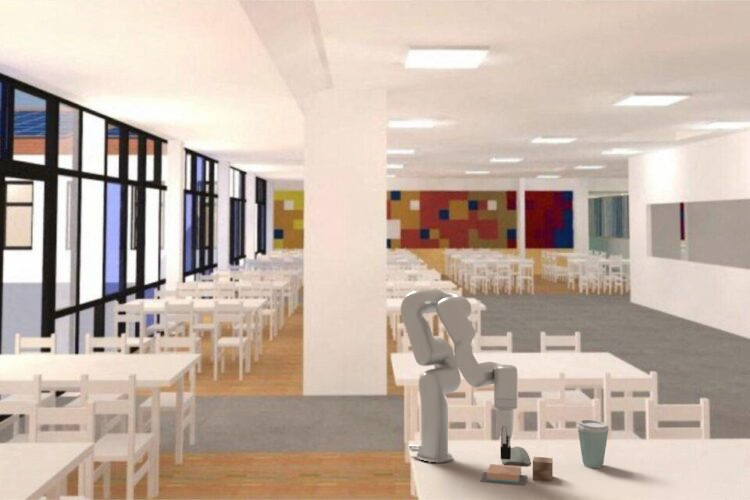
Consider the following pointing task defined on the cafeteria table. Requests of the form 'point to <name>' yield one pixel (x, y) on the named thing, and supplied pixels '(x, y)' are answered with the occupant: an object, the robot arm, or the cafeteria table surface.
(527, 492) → the cafeteria table surface
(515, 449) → the stone slab
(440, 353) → the robot arm
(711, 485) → the cafeteria table surface
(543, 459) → the walnut block
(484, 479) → the mat
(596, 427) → the disposable coffee cup
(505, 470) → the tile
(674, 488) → the cafeteria table surface
